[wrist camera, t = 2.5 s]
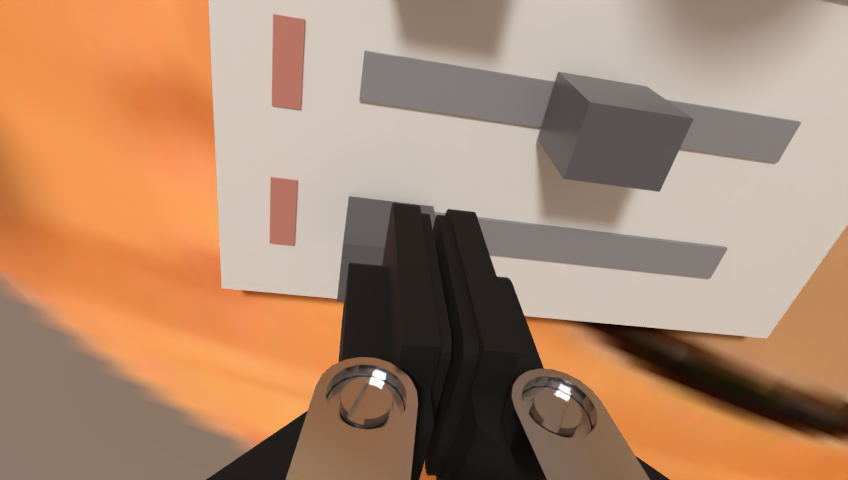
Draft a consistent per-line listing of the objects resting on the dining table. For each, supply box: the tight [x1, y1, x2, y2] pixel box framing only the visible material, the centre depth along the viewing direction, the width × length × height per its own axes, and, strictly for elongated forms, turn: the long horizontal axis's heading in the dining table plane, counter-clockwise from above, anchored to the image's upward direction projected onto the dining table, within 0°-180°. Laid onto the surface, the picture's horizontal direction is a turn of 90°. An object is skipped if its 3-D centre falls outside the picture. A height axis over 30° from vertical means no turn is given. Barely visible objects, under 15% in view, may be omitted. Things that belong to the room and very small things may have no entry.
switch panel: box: [209, 0, 848, 338], centre depth 22 cm, size 32×24×6 cm
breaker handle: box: [538, 72, 694, 192], centre depth 21 cm, size 4×3×4 cm
